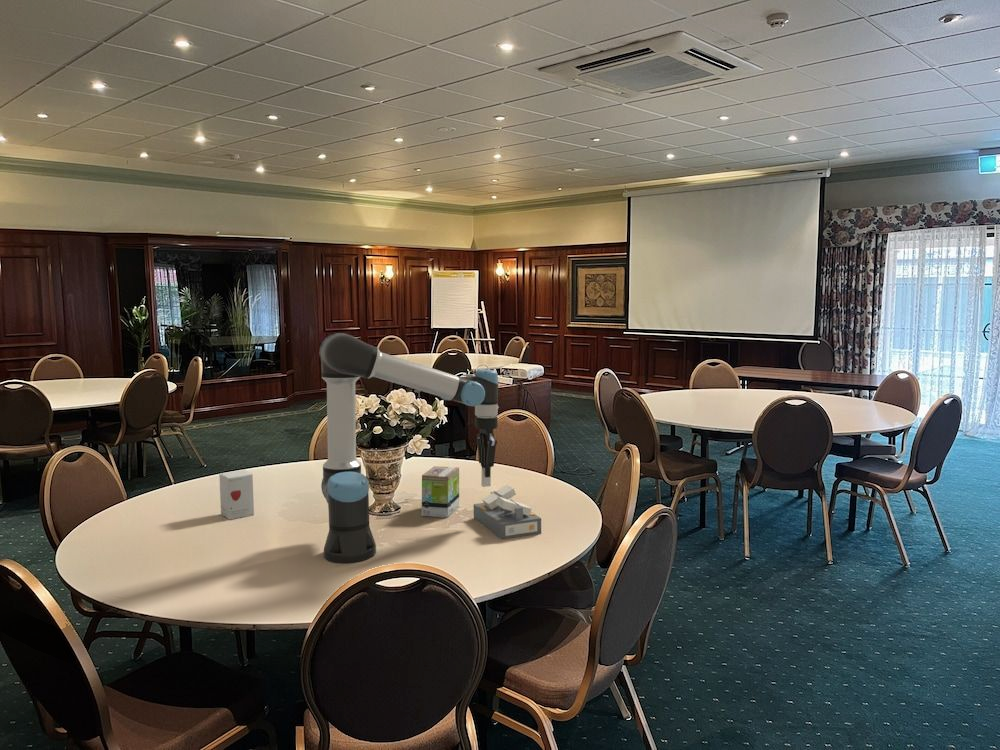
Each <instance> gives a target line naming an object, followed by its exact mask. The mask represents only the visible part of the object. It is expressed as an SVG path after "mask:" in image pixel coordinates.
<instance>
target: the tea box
mask: <svg viewBox="0 0 1000 750" xmlns="http://www.w3.org/2000/svg"><path fill="white" fill-rule="evenodd" d="M459 506H460V467H457V466H456V467H455V466H438V465H437V466H436V465H435V466H433V467H432V468H430V469H428V470H427V471H425V472H424V473H423V474H422V475H421V516H422V517H431V518H448V517H450V515H452V513H453V512H455V510H457V508H458V507H459Z"/></svg>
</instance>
